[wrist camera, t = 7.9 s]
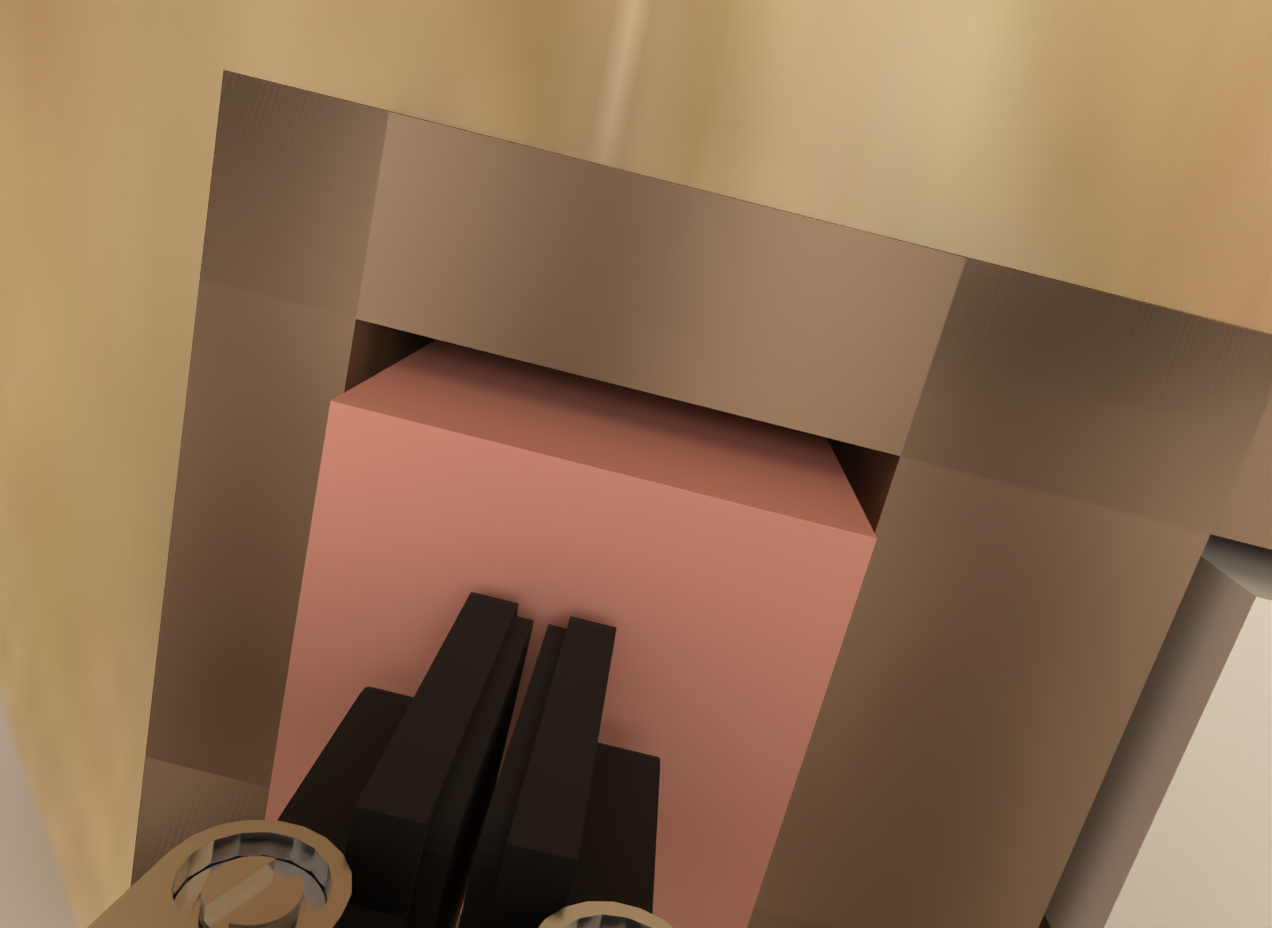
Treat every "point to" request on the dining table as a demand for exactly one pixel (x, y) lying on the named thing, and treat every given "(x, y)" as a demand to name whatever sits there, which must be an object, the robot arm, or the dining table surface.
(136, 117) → the dining table surface
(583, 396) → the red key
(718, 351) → the frame
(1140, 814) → the white block
